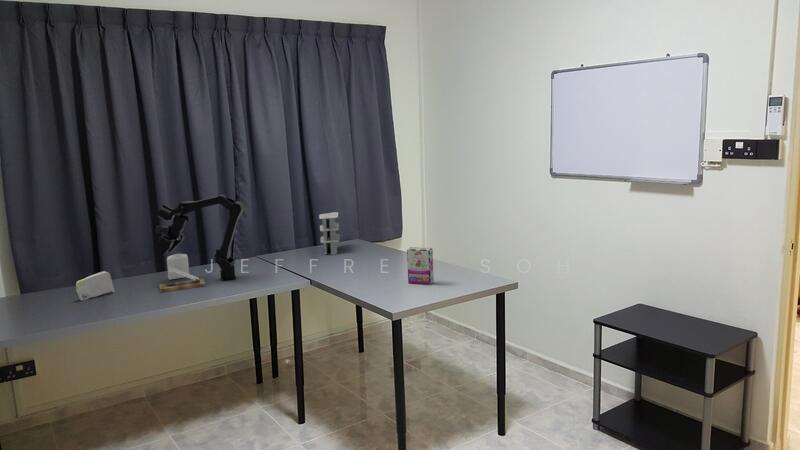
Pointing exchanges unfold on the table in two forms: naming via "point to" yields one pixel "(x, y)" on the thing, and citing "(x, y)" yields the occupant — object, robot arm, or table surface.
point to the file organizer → (329, 232)
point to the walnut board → (182, 285)
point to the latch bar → (183, 273)
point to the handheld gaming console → (94, 285)
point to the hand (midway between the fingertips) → (165, 253)
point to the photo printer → (177, 265)
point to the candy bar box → (420, 265)
